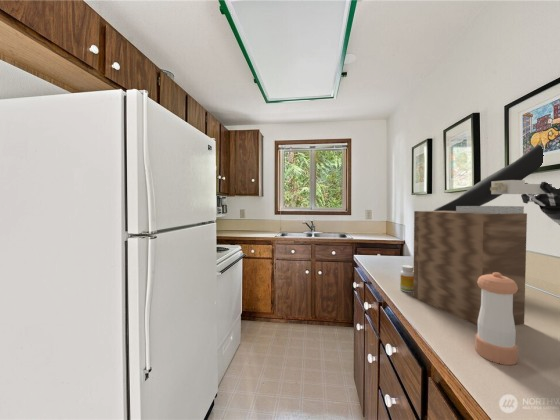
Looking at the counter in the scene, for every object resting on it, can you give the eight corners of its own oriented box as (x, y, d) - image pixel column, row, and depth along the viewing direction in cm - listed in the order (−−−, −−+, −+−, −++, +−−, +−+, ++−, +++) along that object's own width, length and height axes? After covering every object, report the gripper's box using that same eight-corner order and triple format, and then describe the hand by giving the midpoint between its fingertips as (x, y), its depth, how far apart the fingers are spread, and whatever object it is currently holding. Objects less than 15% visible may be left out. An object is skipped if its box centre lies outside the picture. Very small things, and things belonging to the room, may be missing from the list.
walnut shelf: (413, 296, 93) (414, 211, 92) (442, 292, 96) (443, 210, 95) (488, 331, 68) (491, 214, 67) (524, 324, 71) (526, 213, 71)
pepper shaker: (467, 346, 60) (468, 268, 60) (494, 345, 61) (496, 268, 60) (495, 366, 53) (497, 278, 53) (526, 364, 54) (528, 277, 53)
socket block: (456, 212, 78) (456, 206, 78) (482, 212, 81) (482, 205, 81) (494, 214, 68) (494, 206, 68) (523, 213, 71) (523, 206, 71)
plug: (486, 194, 78) (486, 181, 78) (533, 194, 84) (534, 182, 84) (505, 193, 73) (506, 179, 73) (554, 193, 79) (554, 181, 79)
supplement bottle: (417, 293, 96) (417, 268, 96) (402, 292, 97) (402, 267, 97) (412, 288, 101) (412, 265, 101) (398, 287, 102) (398, 264, 102)
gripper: (538, 201, 91) (511, 176, 87) (597, 200, 78) (567, 172, 73) (531, 218, 90) (503, 195, 86) (589, 221, 77) (558, 194, 72)
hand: (533, 184), depth 80 cm, fingers closed on plug, 4 cm apart
